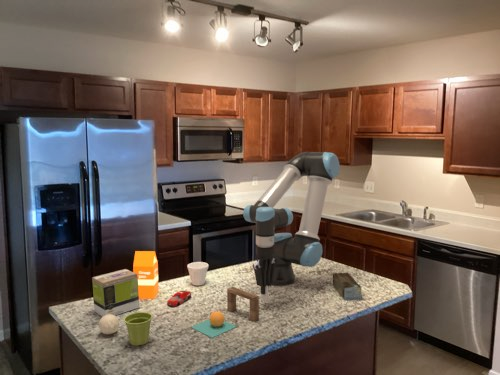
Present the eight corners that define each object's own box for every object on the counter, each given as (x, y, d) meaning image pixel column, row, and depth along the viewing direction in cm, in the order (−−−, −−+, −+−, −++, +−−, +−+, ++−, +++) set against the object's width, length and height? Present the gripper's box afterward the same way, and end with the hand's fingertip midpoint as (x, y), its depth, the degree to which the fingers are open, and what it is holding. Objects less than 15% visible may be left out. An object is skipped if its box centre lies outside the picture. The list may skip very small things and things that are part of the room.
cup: (183, 286, 198) (183, 266, 197) (193, 279, 207) (193, 261, 206) (203, 288, 195) (202, 269, 193) (212, 281, 204) (212, 263, 203)
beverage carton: (343, 301, 180) (343, 286, 179) (331, 285, 199) (331, 272, 198) (361, 300, 181) (362, 285, 180) (348, 285, 200) (348, 271, 199)
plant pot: (118, 345, 142) (117, 321, 141) (136, 333, 151) (135, 310, 150) (142, 350, 139) (141, 325, 137) (158, 338, 147) (157, 314, 146)
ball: (204, 323, 155) (214, 325, 159) (214, 328, 152) (224, 329, 155) (209, 308, 156) (219, 310, 160) (219, 312, 153) (229, 314, 156)
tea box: (127, 301, 180) (126, 267, 178) (139, 308, 173) (138, 273, 171) (93, 311, 169) (91, 276, 168) (104, 319, 162) (103, 282, 160)
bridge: (232, 308, 172) (232, 286, 171) (258, 319, 162) (258, 295, 161) (227, 310, 170) (227, 288, 169) (253, 321, 160) (253, 298, 159)
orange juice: (139, 292, 191) (137, 248, 188) (158, 292, 190) (157, 248, 188) (134, 298, 183) (132, 253, 180) (154, 298, 183) (152, 253, 180)
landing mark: (215, 317, 164) (215, 316, 164) (236, 326, 156) (236, 326, 156) (190, 327, 155) (190, 326, 155) (212, 338, 147) (212, 337, 147)
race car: (175, 309, 173) (174, 299, 172) (164, 306, 175) (164, 297, 175) (193, 298, 184) (193, 289, 184) (183, 295, 187) (183, 287, 186)
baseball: (103, 340, 146) (102, 321, 145) (96, 332, 152) (96, 314, 151) (122, 334, 150) (121, 316, 149) (115, 327, 156) (114, 309, 155)
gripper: (261, 250, 165) (261, 308, 168) (282, 243, 174) (282, 298, 177) (247, 246, 170) (247, 302, 173) (268, 240, 179) (268, 294, 182)
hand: (265, 300), depth 175 cm, fingers closed
